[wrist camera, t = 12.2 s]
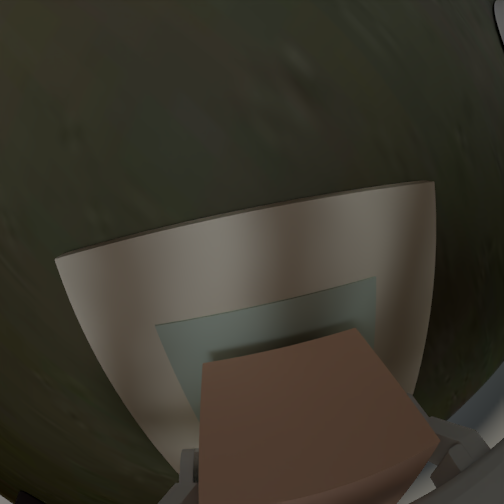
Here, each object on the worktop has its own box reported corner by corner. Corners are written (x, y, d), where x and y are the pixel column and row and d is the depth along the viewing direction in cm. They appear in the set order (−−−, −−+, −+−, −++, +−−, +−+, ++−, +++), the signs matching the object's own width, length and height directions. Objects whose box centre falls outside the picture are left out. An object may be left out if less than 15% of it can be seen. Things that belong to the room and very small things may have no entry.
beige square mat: (423, 180, 10) (435, 181, 10) (399, 414, 15) (404, 422, 14) (63, 253, 10) (53, 259, 9) (180, 466, 15) (180, 476, 14)
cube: (355, 327, 10) (440, 440, 4) (350, 417, 12) (394, 506, 6) (202, 363, 10) (198, 510, 4) (237, 444, 12) (248, 545, 6)
